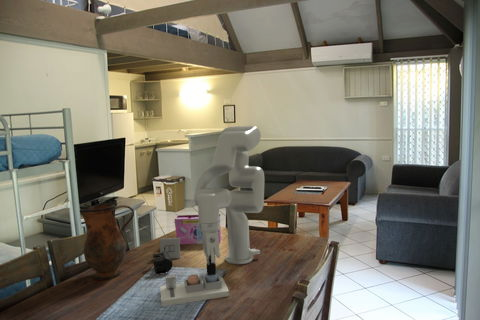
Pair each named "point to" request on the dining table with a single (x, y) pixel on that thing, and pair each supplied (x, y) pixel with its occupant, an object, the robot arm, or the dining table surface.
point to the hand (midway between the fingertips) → (211, 273)
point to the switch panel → (193, 292)
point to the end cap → (162, 262)
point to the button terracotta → (193, 279)
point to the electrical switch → (171, 247)
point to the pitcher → (104, 240)
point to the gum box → (190, 229)
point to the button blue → (212, 278)
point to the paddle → (170, 281)
